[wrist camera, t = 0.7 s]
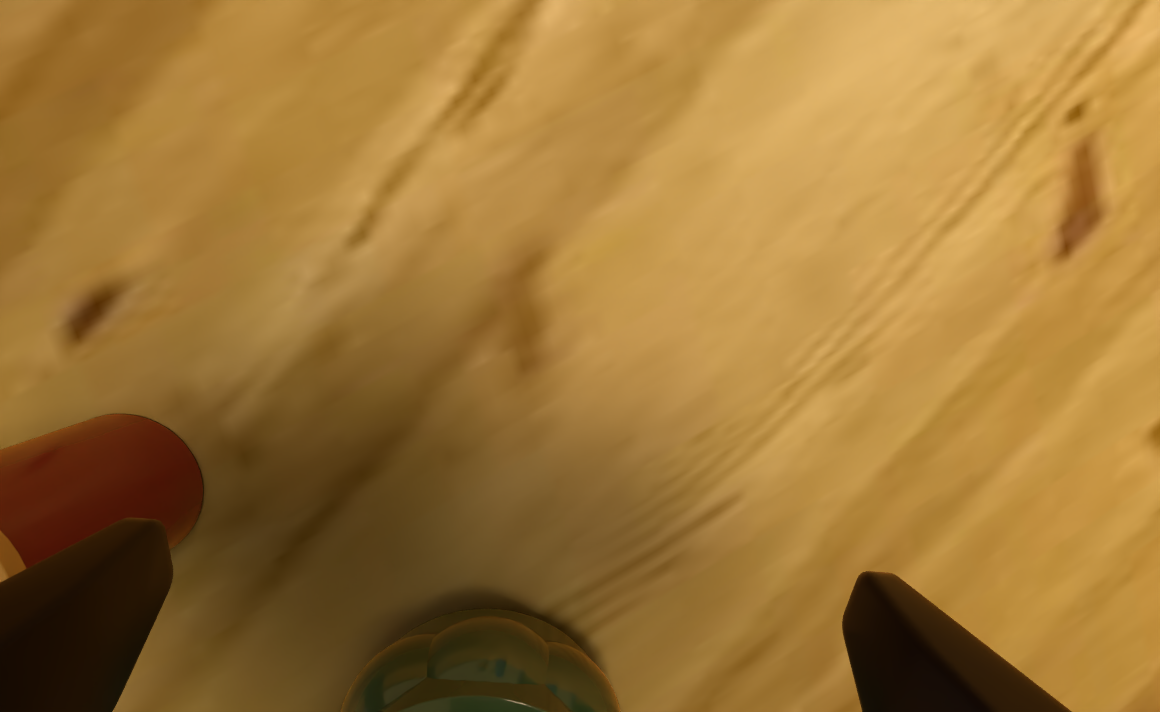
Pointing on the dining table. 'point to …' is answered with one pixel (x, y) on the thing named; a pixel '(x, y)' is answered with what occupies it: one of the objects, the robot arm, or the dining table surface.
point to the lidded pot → (482, 669)
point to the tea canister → (93, 486)
